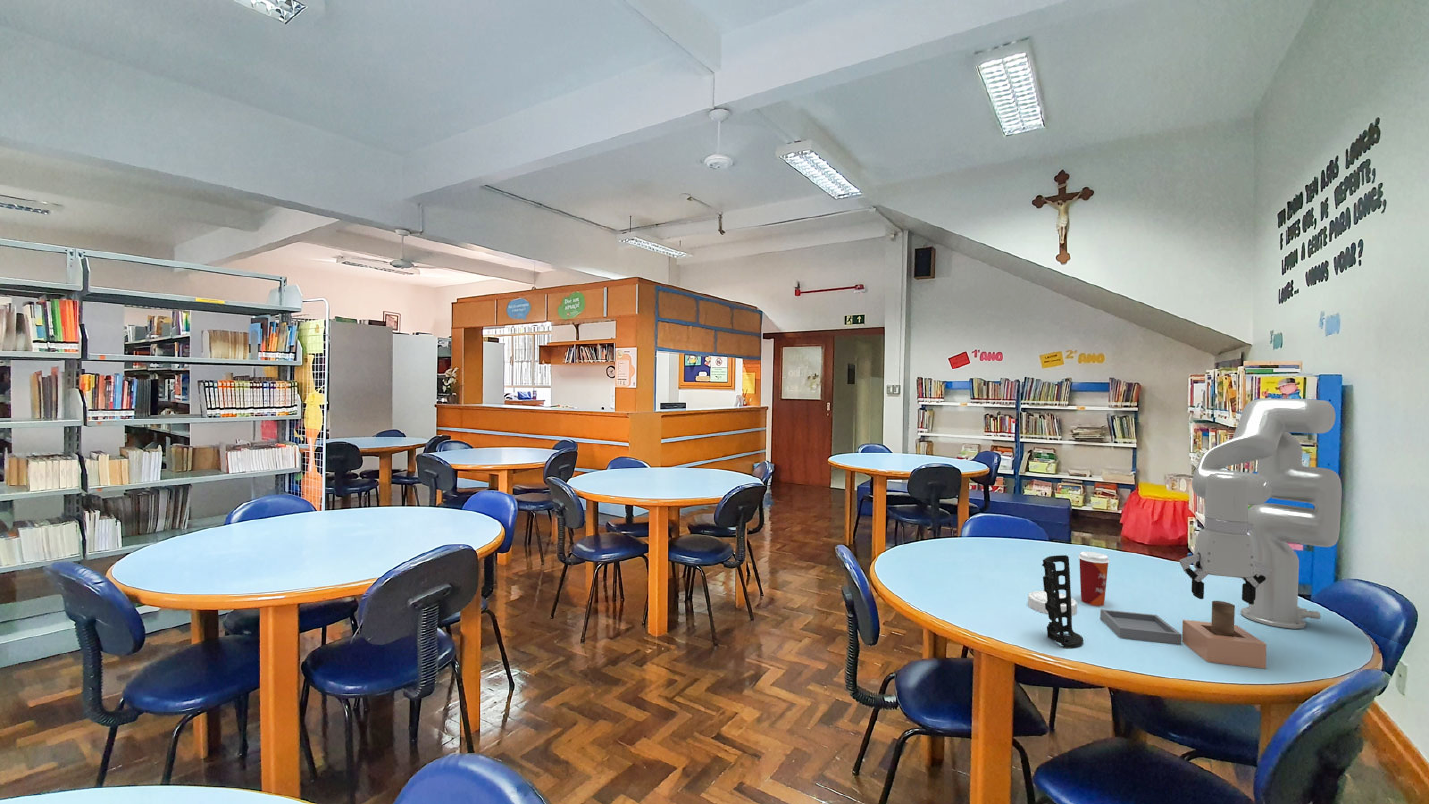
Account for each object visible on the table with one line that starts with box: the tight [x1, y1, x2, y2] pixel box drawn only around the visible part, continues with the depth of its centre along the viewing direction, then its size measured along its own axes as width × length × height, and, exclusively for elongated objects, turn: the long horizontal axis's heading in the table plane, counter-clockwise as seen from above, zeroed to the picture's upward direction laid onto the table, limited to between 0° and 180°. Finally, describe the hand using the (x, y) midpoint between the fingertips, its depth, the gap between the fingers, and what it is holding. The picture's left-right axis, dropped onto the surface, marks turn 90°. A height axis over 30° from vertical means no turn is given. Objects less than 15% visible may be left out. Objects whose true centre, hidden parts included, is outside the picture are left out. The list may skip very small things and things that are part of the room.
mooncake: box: [1027, 590, 1078, 616], centre depth 163 cm, size 12×12×4 cm
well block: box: [1181, 619, 1267, 670], centre depth 135 cm, size 11×11×6 cm
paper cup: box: [1077, 551, 1110, 607], centre depth 169 cm, size 8×8×14 cm
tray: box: [1099, 609, 1183, 646], centre depth 148 cm, size 13×13×2 cm
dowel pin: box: [1210, 600, 1236, 637], centre depth 135 cm, size 4×4×12 cm
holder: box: [1041, 554, 1084, 649], centre depth 142 cm, size 11×8×20 cm
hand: (1222, 599), depth 135 cm, fingers open, 9 cm apart
